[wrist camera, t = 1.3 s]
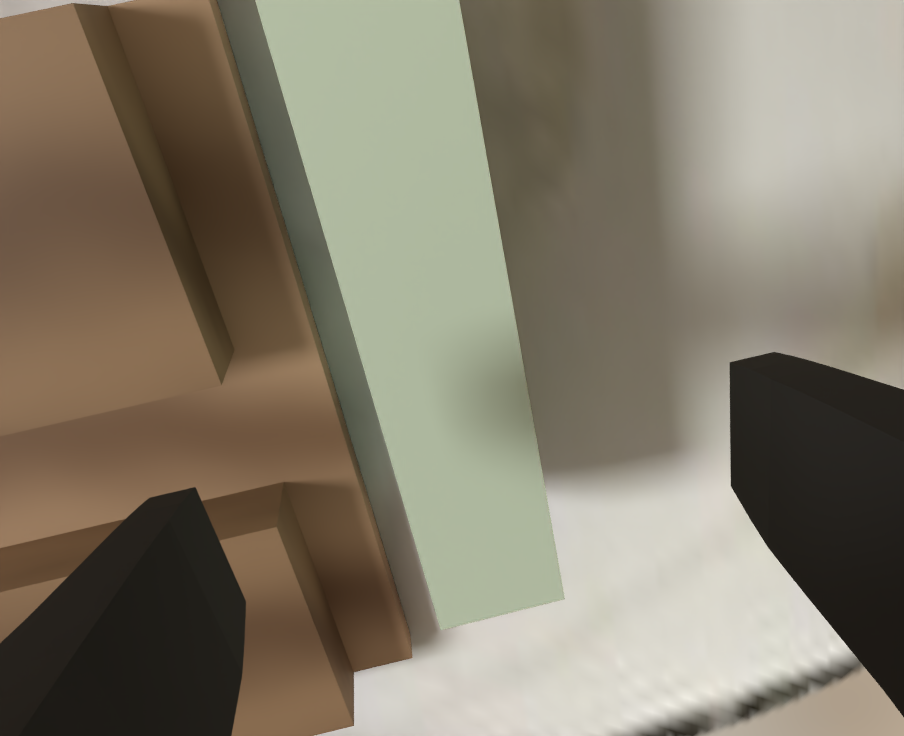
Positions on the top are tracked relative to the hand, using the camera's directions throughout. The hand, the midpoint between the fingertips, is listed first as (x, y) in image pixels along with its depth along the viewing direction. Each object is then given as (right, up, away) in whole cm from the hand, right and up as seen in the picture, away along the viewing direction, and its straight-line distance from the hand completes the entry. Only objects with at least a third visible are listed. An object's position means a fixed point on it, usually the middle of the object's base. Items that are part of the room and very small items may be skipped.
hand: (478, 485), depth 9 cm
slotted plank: (-9, 0, +10) cm, 14 cm away
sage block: (-1, +5, +9) cm, 10 cm away
